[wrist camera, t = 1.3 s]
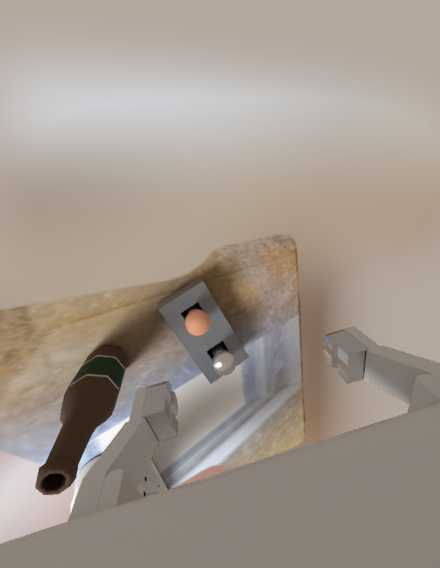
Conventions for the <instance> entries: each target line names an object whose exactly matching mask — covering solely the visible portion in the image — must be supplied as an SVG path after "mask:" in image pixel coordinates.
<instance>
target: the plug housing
mask: <svg viewBox="0 0 440 568" xmlns="http://www.w3.org/2000/svg"><path fill="white" fill-rule="evenodd" d="M197 302H198V303H199V304H200V306H201V308H202V309H203V311H204V312H206V313H207V315H208V316H209V318H210V322H211V323H210V328H209V329H208V331H207V332H206V333H204V334H203V335H199V336H195V335H192V334H190V333H189V332H188V330H187V328H186V325H185V318H184V317H183V315H182V314H181V313H182V312H183V311H185V310H186V309H188V308H189V307H191V306H193V305H194V304H196V303H197ZM158 310H159V311H160V313H161V314H162V316H163V317H164V318H165V320H166V321H167V323H168V324H169V326H170V327H171V328H172V330H173V331H174V333H175V334H176V335H177V337H178V338H179V340H180V341H181V342H182V344H183V345H184V347H185V348H186V350H187V351H188V352H189V354H190V355H191V357H192V358H193V359H194V361H195V362H196V364H197V365H198V367H199V368H200V369H201V371H202V372H203V374H204V375H205V376H206V378H207V379H208V381H209V382H210V383H213V382H214V381H216V380H217V379H219V378H220V377H221V376H223V375H219V374H217V373H216V372H215V370H214V367H213V365H212V358H211V357H210V355H209V354H208V353H207V351H208V350H209V349H211V348H212V347H214V346H215V345H217V344H218V343H220V342H221V341H223V342H224V344H225V345H226V347H227V349H228V350H229V351H230V352H231V353H232V354H233V356H234V358H235V359H236V366H237V365H239V364H240V363H241V362H243V361H244V360H246V359H247V358H248V357H249V356H248V354H247V353H246V351H245V349H244V348H243V346H242V344H241V343H240V341H239V339H238V338H237V336H236V334H235V333H234V331H233V329H232V328H231V326H230V324H229V323H228V321H227V319H226V318H225V316H224V315H223V313H222V311H221V310H220V308H219V306H218V305H217V303H216V301H215V300H214V298H213V296H212V295H211V293H210V291H209V290H208V288H207V286H206V285H205V283H204V282H203V280H201V279H200V278H197V279H196V280H194V281H192V282H191V283H189V284H188V285H186V286H184V287H183V288H181V289H180V290H178V291H176V292H175V293H173V294H171V295H170V296H168V297H167V298H165V299H163V300H162V301H160V302H159V303H158Z"/></svg>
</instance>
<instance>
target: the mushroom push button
mask: <svg viewBox="0 0 440 568" xmlns="http://www.w3.org/2000/svg"><path fill="white" fill-rule="evenodd" d="M210 323H211V322H210V318H209V316H208V315H207V313H206V312H204V311H203V310H200V309H197V308H191V309H189V311H188V314H187V316H186V318H185V325H186V328H187V330H188V332H189V333H190V334H192V335H195V336H199V335H203V334H204V333H206V332H207V331H208V329H209V328H210Z"/></svg>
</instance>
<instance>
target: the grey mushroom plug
mask: <svg viewBox="0 0 440 568" xmlns="http://www.w3.org/2000/svg"><path fill="white" fill-rule="evenodd" d="M212 353H213V355H214V357H213V359H212V365H213V367H214V370H215V372H216V373H217V374H219V375H228V374H230V373H231V372H233V370H234V369H235V367H236V359H235V358H234V356H233V354H232V353H231V352H230V351H227V350H224V349H223V348H222V346H221V345H215V346H214V347H213V348H212Z"/></svg>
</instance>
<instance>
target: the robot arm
mask: <svg viewBox="0 0 440 568" xmlns="http://www.w3.org/2000/svg"><path fill="white" fill-rule="evenodd" d="M324 342H325V343H326V346H325V347H324V354H325V357H326V359H327V361H328V362H329V363H330V365H331V366H333V367H335V368H337V369H338V374H339V375H340V376H341V377H342V379H343V380H344V381H345V382H346V383H347V384H348V383H351V382H355V381H359V380H362V379H364V380H365V381H367V382H368V383H370V384H372V385H374V386H376V387H378V388H380V389H382V390H383V391H385V392H387V393H389V394H391V395H393V396H395V397H397V398H398V399H400V400H402V401H404V402H406V403H408V404H410V405H409V409H408V413H405V414H402V415H399V416H396V417H393V418H390V419H387V420H384V421H381V422H377V423H374V424H371V425H368V426H365V427H362V428H359V429H356V430H353V431H349V432H347V433H343V434H340V435H337V436H334V437H331V438H328V439H325V440H321V441H318V442H315V443H312V444H309V445H306V446H303V447H300V448H296V449H293V450H290V451H287V452H284V453H281V454H278V455H275V456H272V457H268V458H265V459H262V460H259V461H256V462H253V463H250V464H247V465H243V466H240V467H237V468H234V469H231V470H228V471H225V472H222V473H219V474H216V475H212V476H209V477H206V478H203V479H200V480H197V481H194V482H191V483H187V484H184V485H181V486H178V487H175V488H172V489H169V490H168V488H167V487H166V485H165V483H164V481H163V479H162V478H161V476H160V474H159V472H158V470H157V469H156V467H155V465H154V463H153V461H152V457H153V455H154V453H155V451H156V449H157V447H158V445H159V442H161V441H164V440H167V439H170V438H173V437H175V436H177V426H178V421H177V419H176V417H175V416H176V415H177V413H178V404H177V399H176V395H175V393H174V392H173V391H171V384H170V382H169V381H166V382H162V383H159V384H155V385H151V386H148V387H144V388H141V389H138V390H137V391H136V394H135V399H134V403H133V407H132V412H131V416H130V420H129V422H127V423H125V425H124V426H123V427H122V429H121V430H120V431H119V432H118V434H117V435H116V436H115V438H114V439H113V440H112V442H111V443H110V444H109V445H108V447H107V448H106V449H105V451H104V452H103V453H102V454H101V456H98V457H96V458H94V459H93V460H91V461H90V462H88V463H87V464H86V465H85V466H84V467H83V468H82V469H81V470H80V472H79V474H78V475H77V478H76V482H75V491H74V497H73V500H72V503H71V507H70V510H71V512H70V516H69V520H68V522H67V523H63V524H60V525H57V526H54V527H51V528H47V529H44V530H41V531H38V532H35V533H32V534H29V535H26V536H23V537H19V538H16V539H13V540H10V541H7V542H4V543H1V544H0V568H440V363H437V362H434V361H430V360H427V359H424V358H421V357H417V356H414V355H411V354H408V353H405V352H401V351H398V350H395V349H391V348H388V347H385V346H378V345H377V344H376V343H374V342H373V341H372V340H371V339H370V338H368V337H367V336H366V335H364V334H363V333H362V332H361V331H359V330H358V329H356V328H355V327H350V328H347V329H343V330H340V331H337V332H334V333H330V334H327V335H325V336H324Z"/></svg>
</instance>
